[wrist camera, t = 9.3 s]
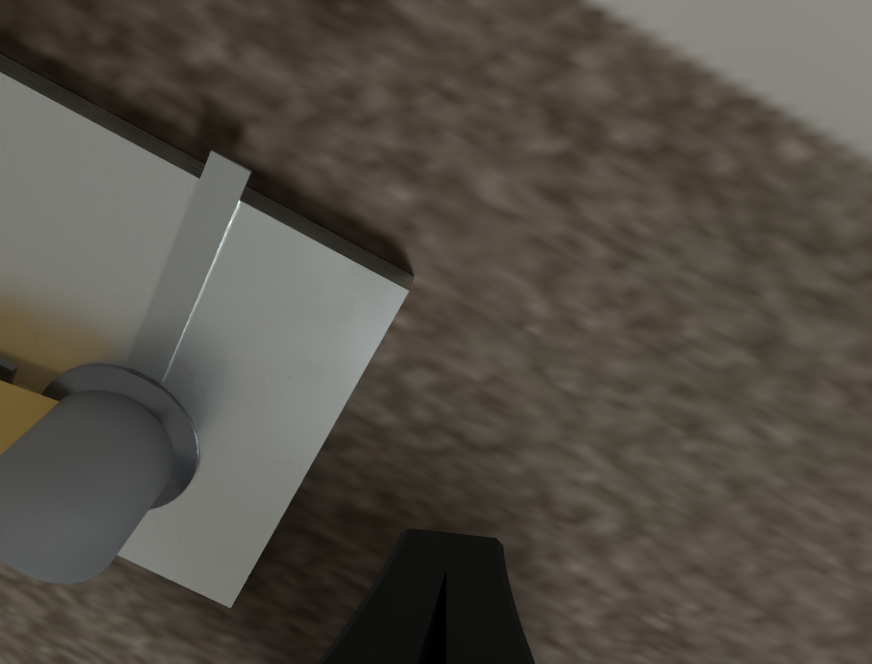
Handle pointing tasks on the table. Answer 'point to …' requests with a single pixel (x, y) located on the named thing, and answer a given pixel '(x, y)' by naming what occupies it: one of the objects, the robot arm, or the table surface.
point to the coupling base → (180, 317)
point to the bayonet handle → (75, 479)
